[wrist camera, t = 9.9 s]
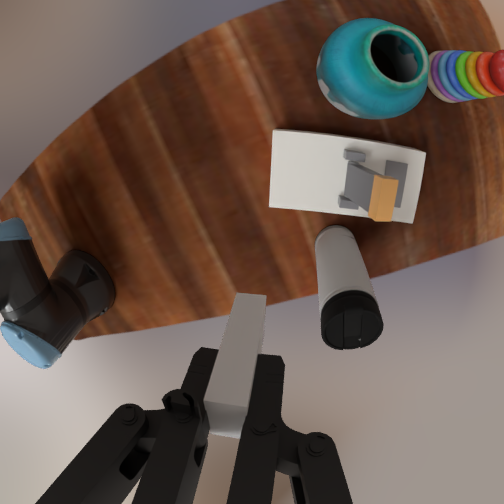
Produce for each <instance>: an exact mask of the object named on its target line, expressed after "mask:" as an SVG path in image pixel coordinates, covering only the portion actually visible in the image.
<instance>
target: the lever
mask: <svg viewBox="0 0 504 504" xmlns="http://www.w3.org/2000/svg"><path fill="white" fill-rule="evenodd" d="M398 182H399V180H397V179H395V178H393V177H391V176H384V175H381V174H379V173H377V172H375V171H373V170H371V169H369V168H366V167H364V166H362V165H360V164H359V162H355V161H348V164H347V173H346V181H345V189H344V196H345V197H347V198H349V199H350V200H352V201H353V202H355V203H356V204H357V205H359V206H360V207H361V208H363V209H364V210H365V211H367V212H368V216H369V217H370V218H372V219H373V220H374V221H386V222H391V219H392V214H393V209H394V204H395V199H396V193H397V188H398Z"/></svg>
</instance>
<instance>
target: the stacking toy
mask: <svg viewBox="0 0 504 504" xmlns="http://www.w3.org/2000/svg"><path fill="white" fill-rule="evenodd" d="M428 56H429V72H428V84H427V86H428V87H429V89H430V90H431V92H432V93H433V94H434V95H435V96H436V97H438V98H439V99H441V100H443V101H445V102H449V103H456V102H463V101H468V100H471V99H478V98H479V99H484V98H487V97H495V96H503V95H504V50H499V51H497V52H496V53H492V52H479V51H478V52H471V51H463V50H458V51H456V50H451V51H449V50H444V51H435V52H433V53H431V54H430V55H428Z"/></svg>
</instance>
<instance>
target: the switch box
mask: <svg viewBox="0 0 504 504" xmlns="http://www.w3.org/2000/svg"><path fill="white" fill-rule="evenodd" d="M425 157H426V152H423V151H421V150H418V149H415V148H411V147H407V146H402V145H397V144H392V143H387V142H381V141H376V140H370V139H364V138H357V137H351V136H344V135H336V134H328V133H320V132H310V131H300V130H288V129H274V130H273V139H272V160H271V179H270V198H269V207H276V208H287V209H297V210H307V211H317V212H326V213H335V214H344V215H352V216H360V217H368V218H370V217H369V216H368V212H367V211H365V210H364V209H363V208H361V207H360V206H359V205H357V204H356V203H355V202H353V201H352V200H350V199H349V198H347V197H345V196H344V189H345V181H346V173H347V164H348V161H355V162H359V164H360V165H362V166H364V167H366V168H369V169H371V170H373V171H375V172H377V173H379V174H381V175H384V176H391V177H393V178H395V179H397V180H399V182H398V188H397V193H396V199H395V204H394V209H393V214H392V219H391V221H398V222H405V223H412V224H413V220H414V216H415V211H416V207H417V202H418V197H419V192H420V187H421V181H422V176H423V170H424V163H425Z"/></svg>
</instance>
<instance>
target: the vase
mask: <svg viewBox="0 0 504 504" xmlns="http://www.w3.org/2000/svg"><path fill="white" fill-rule="evenodd" d="M428 72H429V56H428V53H427V51H426V49H425V46H424V45H423V43H422V42H421V41H420V40H419V38H418V37H417V36H416V35H414V34H413V33H412V32H410V31H409V30H407V29H405V28H403V27H401V26H397V25H394V24H392V23H390V22H387V21H384V20H380V19H375V18H361V19H356V20H352V21H349V22H347V23H345V24H343V25H341V26H340V27H339V28H337V29H336V30H335V31H334V32H333V33H332V34H331V35H330V36H329V37H328V39H327V40H326V42H325V43H324V45H323V47H322V49H321V52H320V54H319V57H318V62H317V79H318V83H319V86H320V89H321V91H322V93H323V94H324V96H325V97H326V98H327V100H328V101H329V102H330V103H331V104H332V105H334V106H335V107H336V108H338V109H339V110H341V111H342V112H344V113H347V114H349V115H351V116H355V117H358V118H365V119H387V118H393V117H396V116H399V115H402V114H404V113H406V112H408V111H410V110H411V109H413V108H414V107H415V106H416V105H417V104H418V103H419V102H420V100H421V99H422V97H423V96H424V94H425V91H426V88H427V84H428Z"/></svg>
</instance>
